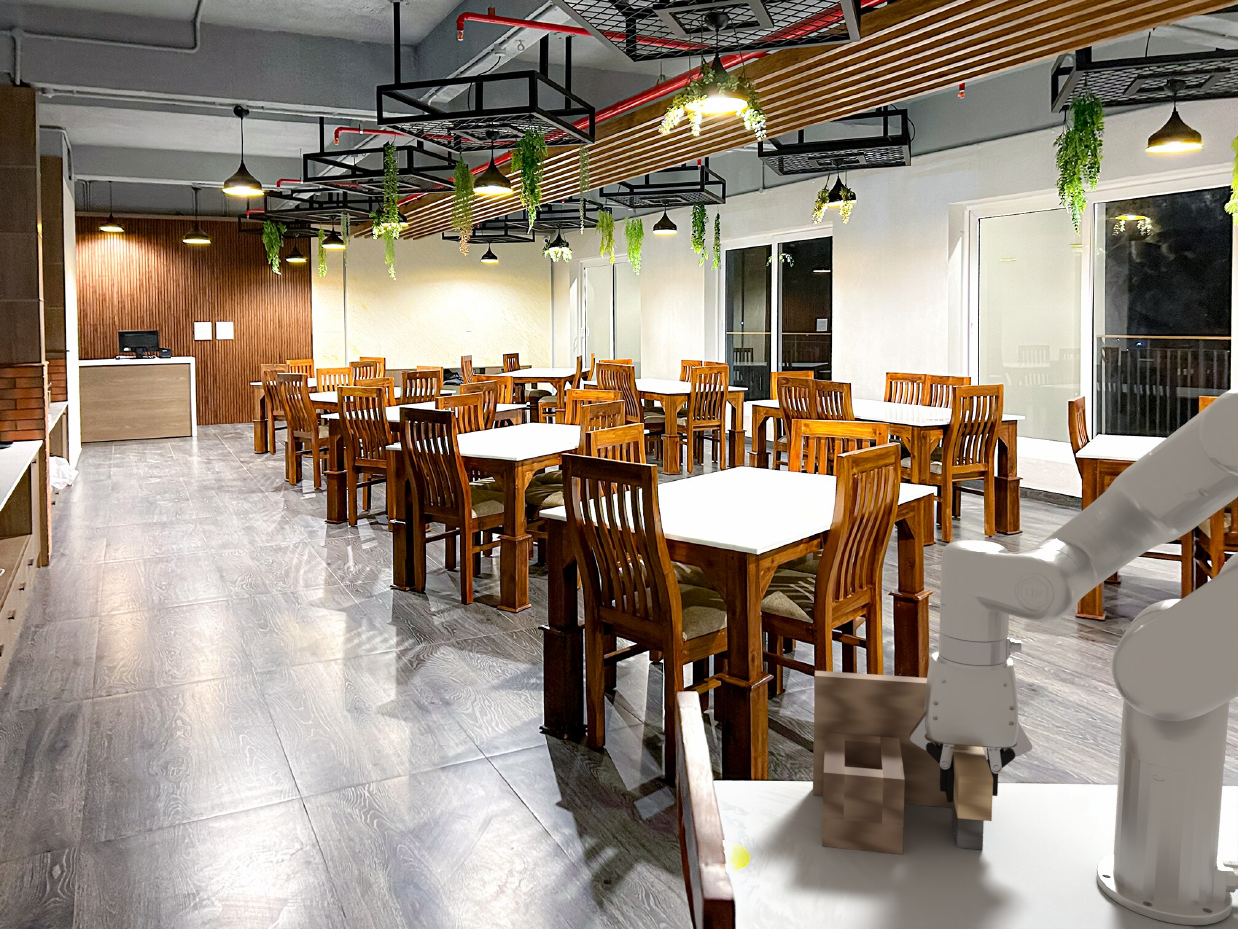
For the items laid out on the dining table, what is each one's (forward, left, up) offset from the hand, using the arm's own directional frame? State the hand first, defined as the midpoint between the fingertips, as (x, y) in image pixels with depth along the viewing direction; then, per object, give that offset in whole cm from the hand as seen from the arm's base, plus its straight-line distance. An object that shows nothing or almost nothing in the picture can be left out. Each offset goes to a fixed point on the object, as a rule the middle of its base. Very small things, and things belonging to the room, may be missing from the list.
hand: (968, 797), depth 116 cm
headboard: (+8, -2, -5) cm, 10 cm away
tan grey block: (0, 0, -5) cm, 5 cm away
